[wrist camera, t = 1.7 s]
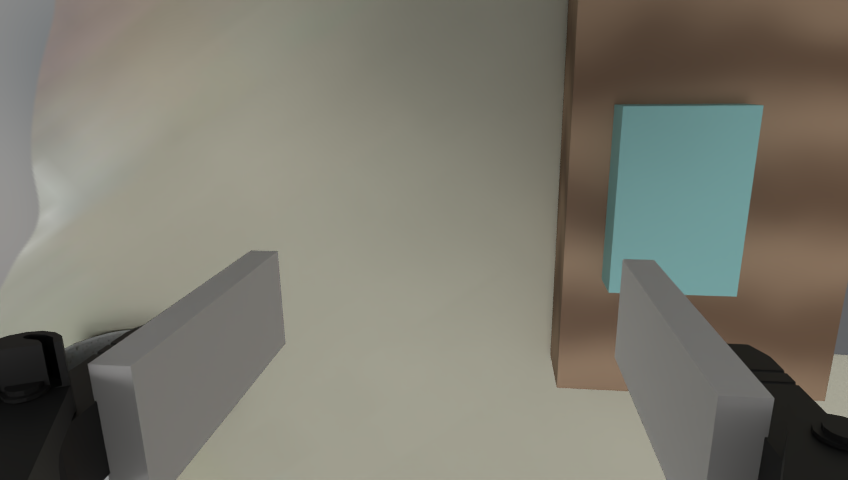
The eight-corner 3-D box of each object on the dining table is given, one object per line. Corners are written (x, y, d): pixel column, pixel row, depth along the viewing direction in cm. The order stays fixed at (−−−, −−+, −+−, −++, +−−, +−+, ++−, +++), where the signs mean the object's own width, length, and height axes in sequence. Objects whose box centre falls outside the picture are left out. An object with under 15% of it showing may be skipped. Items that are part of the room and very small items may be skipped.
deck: (569, -25, 30) (580, -40, 27) (856, -35, 29) (912, -53, 25) (550, 355, 36) (556, 387, 32) (788, 365, 35) (824, 400, 31)
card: (614, 104, 28) (623, 106, 26) (744, 103, 27) (763, 105, 25) (601, 279, 30) (608, 292, 29) (721, 282, 30) (736, 296, 28)
